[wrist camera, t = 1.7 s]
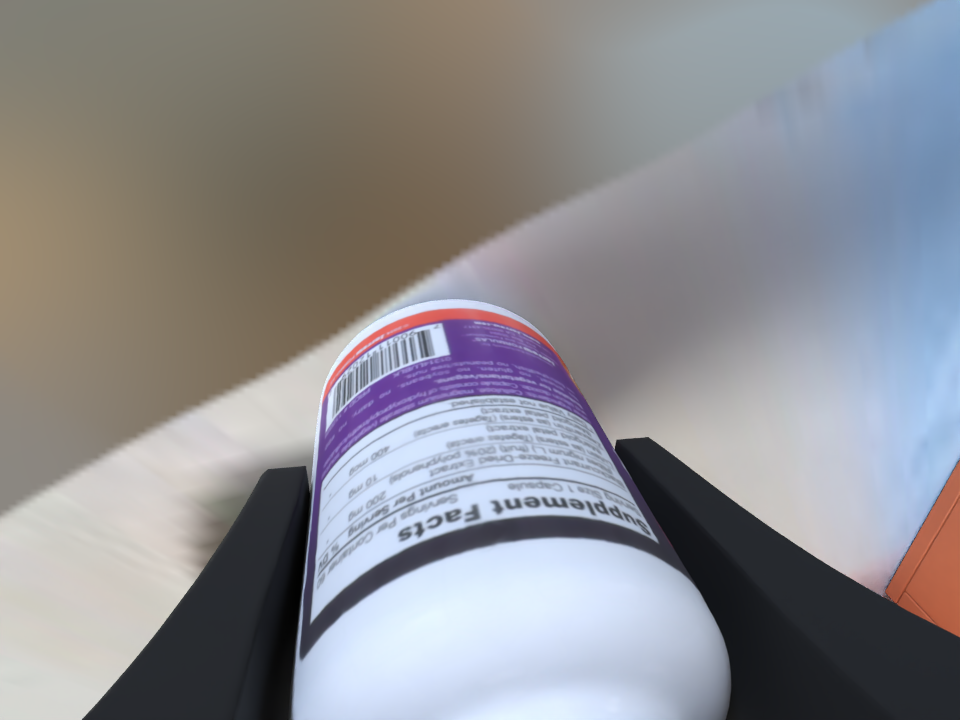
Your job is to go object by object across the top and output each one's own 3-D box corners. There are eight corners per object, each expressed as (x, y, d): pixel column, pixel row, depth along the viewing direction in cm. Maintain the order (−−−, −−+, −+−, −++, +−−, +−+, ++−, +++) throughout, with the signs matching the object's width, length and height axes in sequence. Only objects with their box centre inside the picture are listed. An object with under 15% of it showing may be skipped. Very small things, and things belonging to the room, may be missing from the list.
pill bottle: (532, 500, 15) (745, 1107, 7) (310, 492, 14) (234, 1241, 5) (595, 306, 12) (1065, 895, 4) (331, 273, 11) (247, 1046, 3)
